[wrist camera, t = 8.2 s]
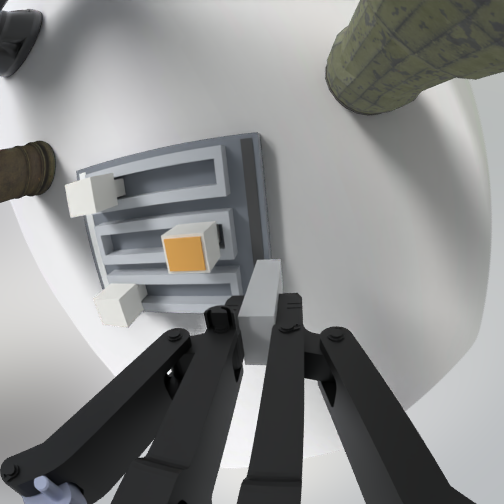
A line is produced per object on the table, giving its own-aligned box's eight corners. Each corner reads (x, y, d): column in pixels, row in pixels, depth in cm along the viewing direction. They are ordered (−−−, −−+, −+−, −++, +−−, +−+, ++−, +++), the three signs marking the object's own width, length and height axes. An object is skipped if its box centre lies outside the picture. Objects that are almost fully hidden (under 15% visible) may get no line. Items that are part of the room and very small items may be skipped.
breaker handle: (186, 218, 29) (159, 236, 23) (222, 215, 28) (202, 233, 22) (192, 249, 30) (167, 274, 24) (226, 247, 30) (209, 273, 23)
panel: (85, 169, 31) (39, 178, 23) (259, 134, 27) (247, 124, 19) (115, 301, 37) (83, 332, 29) (274, 302, 34) (269, 347, 25)
